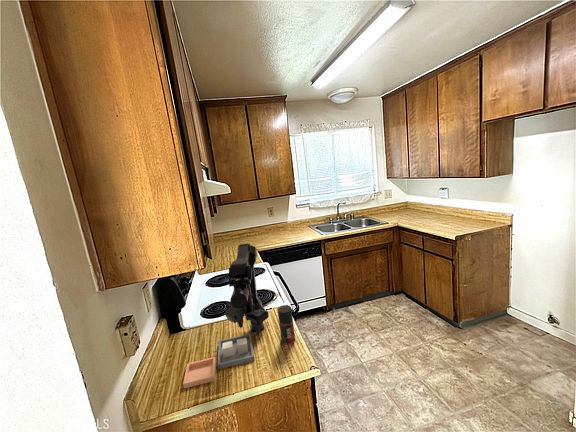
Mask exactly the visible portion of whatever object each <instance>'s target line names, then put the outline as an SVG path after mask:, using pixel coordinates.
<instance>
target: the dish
mask: <svg viewBox="0 0 576 432" xmlns="http://www.w3.org/2000/svg"><path fill="white" fill-rule="evenodd" d="M216 359H217V357H215V356H213V357H209V358H205V359H202V360H201V359H200V360H196V361H191V362H187V365H186V368H185V374H184V378H183V382H182V386H183V389H187V388H188V389H189V388H191V387H192V388H193V387H195V386H199V385H203V384H206V383H207V384H208V383H211V382H214V381H216V369H217V367H216V366H217V360H216Z"/></svg>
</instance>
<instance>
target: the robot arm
mask: <svg viewBox="0 0 576 432" xmlns="http://www.w3.org/2000/svg"><path fill="white" fill-rule="evenodd" d="M257 257H258V249H257V247H256V246H254V245H251V243H248V242H247V243H241V244H238V248H237V255H236V259H235V260H234V261H232V262H231V264H230V266H229V267H228V287H233V291H232V294H231V297H230V302H229V303H227V304H226V305H225V307H224V309H225V312H224V315H225V317H226V320H228V321H229V322H231V323H233V324H236V323H237V325H238V326H239V328H243V326H244V316H245V320H246V321H249V322H250V325H249V326H250V333H251V334H255V335H256V336H258V335H259V334H260V333H261V332H263V331H265V330H266V328H265V324H264V321H266V320H267V319H268V318H269V317H270V316H269V314H270V313H269V311H268V310H266V308H264V306H263V305H262V301H261V299H260V298H259V297H258V290H257V280H256V271H255V264H256V262H257V260H258V259H257Z"/></svg>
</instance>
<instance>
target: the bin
mask: <svg viewBox="0 0 576 432" xmlns="http://www.w3.org/2000/svg"><path fill="white" fill-rule="evenodd" d="M243 338H247V345H248V352H246V353H242V354H239V353H238V347H237V340H238V339H243ZM230 341H232V343H233V349H234V356H230V357H226V358H224V356H223V350H222V345H223V343H226V342H230ZM217 352H218V353H217V354H218V355H217V370H221V369H226V368H230V367H234V366H238V365H241V364H246V363H251V362H254V361H255V354H254V347H253V341H252V333H251V332H250V333H247V334H242V335H241V334H240V335H237V336H234V337H233V336H232V337H230V338H225V339H219V340H218V351H217Z"/></svg>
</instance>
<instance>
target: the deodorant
mask: <svg viewBox="0 0 576 432" xmlns="http://www.w3.org/2000/svg"><path fill="white" fill-rule="evenodd" d="M292 309H293V308H292V307H291V306H290V305H286V304H285V305H281V306H279V307H278V308H277V315H278V322H279V323H278V324H279V331H280V340H281V343H282V344H286V345H289V344H291V345H292V343H293V344H294V343H295V342H296V335H295V328H294V327H295V326H294V319H293V310H292Z"/></svg>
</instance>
